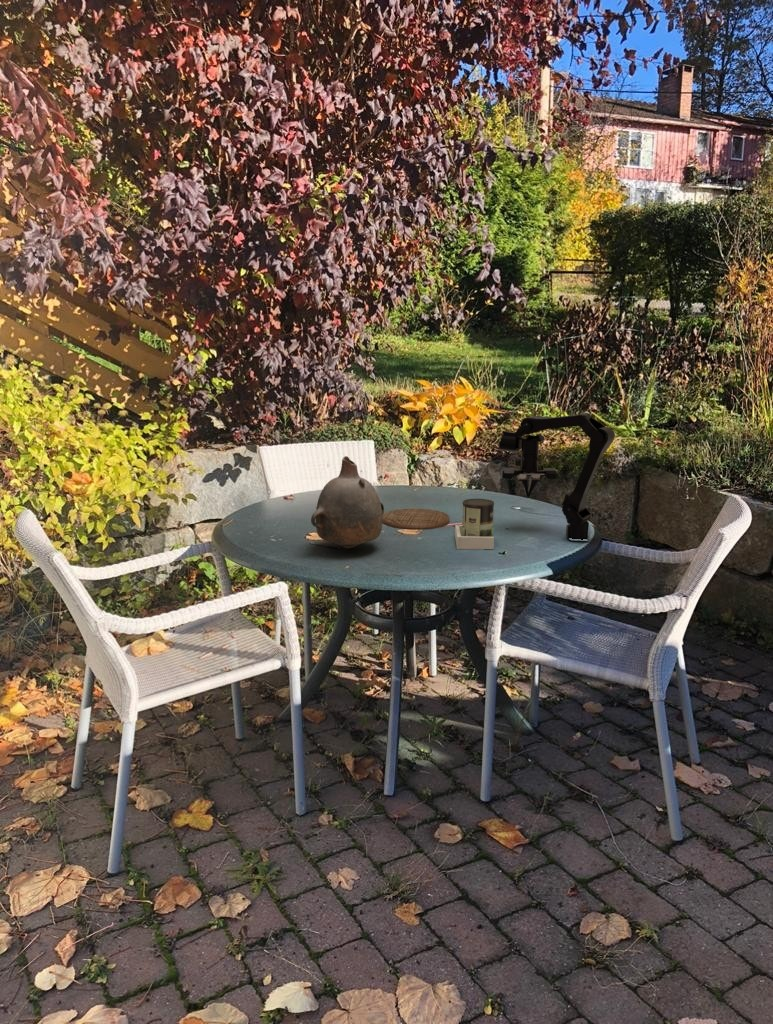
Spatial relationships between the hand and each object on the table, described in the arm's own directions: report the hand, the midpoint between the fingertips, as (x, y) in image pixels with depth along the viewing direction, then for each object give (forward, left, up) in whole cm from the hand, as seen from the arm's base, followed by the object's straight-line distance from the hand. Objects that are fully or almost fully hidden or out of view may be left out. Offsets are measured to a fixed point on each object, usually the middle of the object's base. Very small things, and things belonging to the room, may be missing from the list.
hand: (527, 497), depth 276 cm
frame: (+19, +16, -12) cm, 28 cm away
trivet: (+39, -12, -13) cm, 43 cm away
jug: (+60, +25, -12) cm, 66 cm away
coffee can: (+18, +16, -12) cm, 27 cm away
